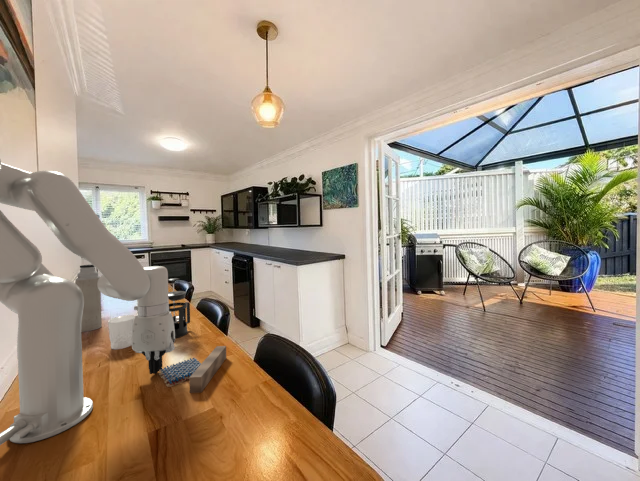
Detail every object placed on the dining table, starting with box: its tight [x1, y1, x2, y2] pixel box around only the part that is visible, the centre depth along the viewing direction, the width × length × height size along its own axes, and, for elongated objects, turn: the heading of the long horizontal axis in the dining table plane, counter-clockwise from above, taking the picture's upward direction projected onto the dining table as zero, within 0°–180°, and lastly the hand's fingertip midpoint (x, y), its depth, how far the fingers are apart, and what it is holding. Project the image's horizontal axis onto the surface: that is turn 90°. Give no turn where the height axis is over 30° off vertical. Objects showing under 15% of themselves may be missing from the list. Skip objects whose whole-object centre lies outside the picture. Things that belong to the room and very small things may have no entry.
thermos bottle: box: [74, 264, 103, 333], centre depth 110 cm, size 8×8×28 cm
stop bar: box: [188, 345, 227, 394], centre depth 74 cm, size 18×3×4 cm, turn 1°
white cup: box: [107, 314, 136, 350], centre depth 93 cm, size 8×8×10 cm
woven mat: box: [158, 357, 202, 388], centre depth 74 cm, size 10×11×2 cm
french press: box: [168, 277, 191, 339], centre depth 103 cm, size 12×9×23 cm
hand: (155, 371), depth 74 cm, fingers closed
